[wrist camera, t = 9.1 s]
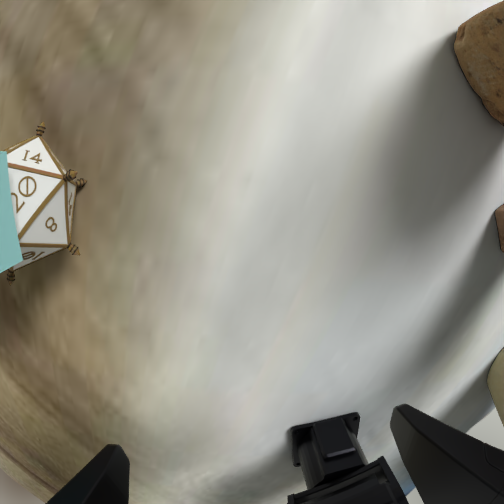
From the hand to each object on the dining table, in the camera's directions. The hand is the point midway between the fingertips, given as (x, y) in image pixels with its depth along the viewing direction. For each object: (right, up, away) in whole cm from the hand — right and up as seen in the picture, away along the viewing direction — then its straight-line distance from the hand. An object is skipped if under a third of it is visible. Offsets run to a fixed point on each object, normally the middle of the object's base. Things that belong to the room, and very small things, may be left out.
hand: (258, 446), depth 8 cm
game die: (-14, +10, +10) cm, 20 cm away
